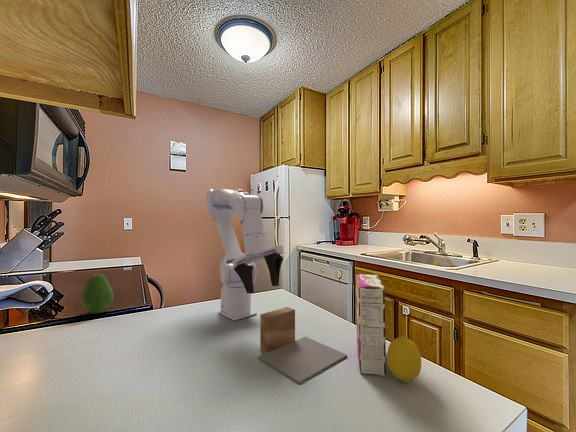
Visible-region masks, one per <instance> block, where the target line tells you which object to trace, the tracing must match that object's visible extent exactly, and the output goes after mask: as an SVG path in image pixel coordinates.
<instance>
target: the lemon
mask: <svg viewBox="0 0 576 432" xmlns="http://www.w3.org/2000/svg"><path fill="white" fill-rule="evenodd" d="M386 361H387V364H388V368H389V369H390V372H391V373H392V375H394V377H395V378H397V379H399V380H400V381H401V382H402V383H408V382H411V381H413V380H415V379H417V378H418V377H419V375H420V373H421V369H422V356H421V353H420V350H419V347H418V346H417V345H416V343H415V342H414V341H412V340H411V339H409V338H407V336H405V335H402V336H400V337H397V338H394V339H393V340H392V341H391V342H390V344H389V345H388V348H387V353H386Z"/></svg>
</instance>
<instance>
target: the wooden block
mask: <svg viewBox="0 0 576 432" xmlns="http://www.w3.org/2000/svg"><path fill="white" fill-rule="evenodd" d="M259 320H260V321H259V322H260V323H259V324H260V325H259V326H260V327H259V330H260V332H259V333H260V335H259V336H260V337H259V338H260V339H259V341H260V349H261V350H263V351H264V352H265V353H267V352H270V351H272V350H275V349H277V348H279V347H282V346H284V345H287V344H289V343H291V342H294V341H296V309H295V308H292V307H289V306H285V307H282V308H278V309H275V310H271V311H268V312H264V313H261V314H260V319H259Z"/></svg>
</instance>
